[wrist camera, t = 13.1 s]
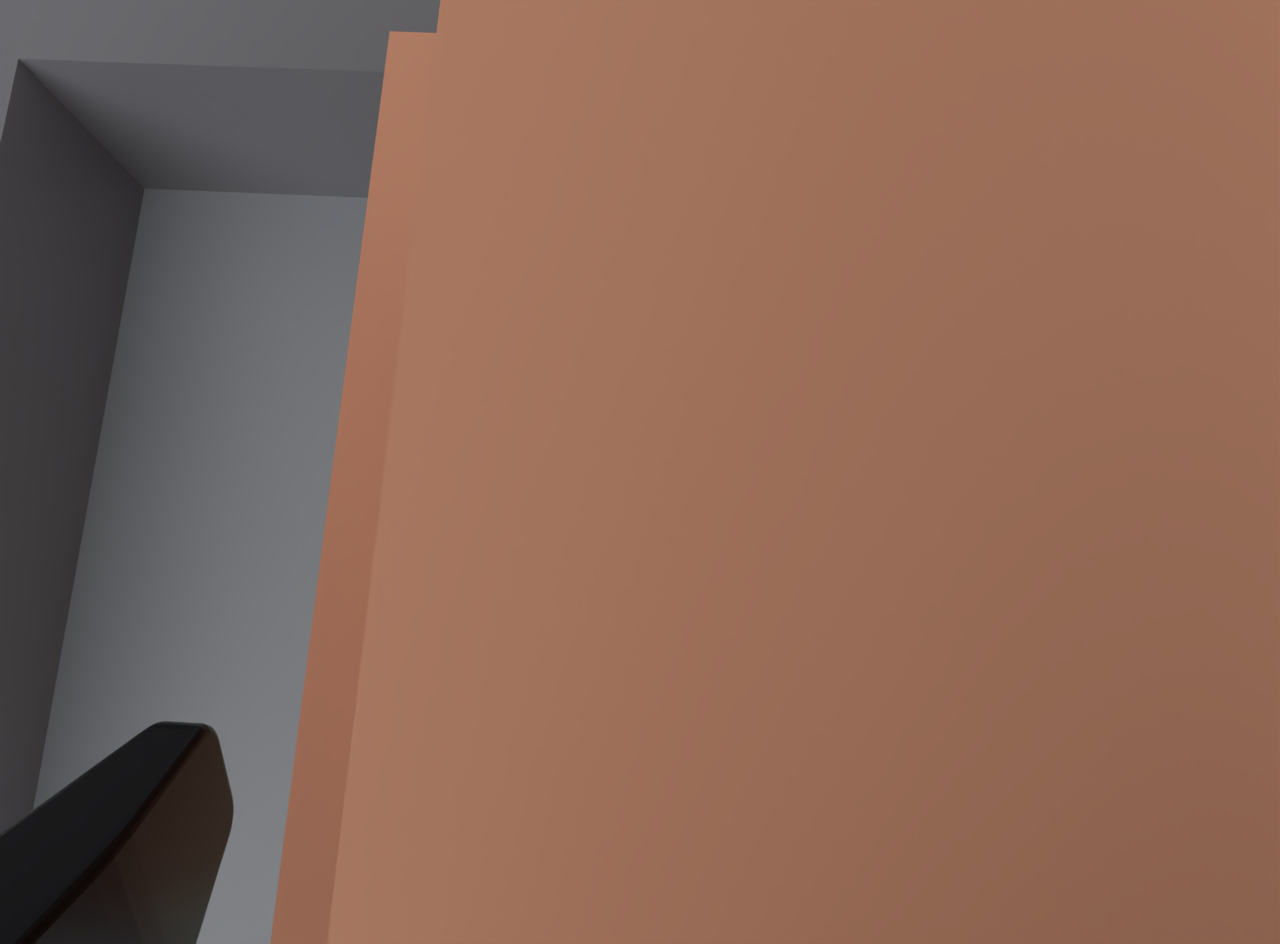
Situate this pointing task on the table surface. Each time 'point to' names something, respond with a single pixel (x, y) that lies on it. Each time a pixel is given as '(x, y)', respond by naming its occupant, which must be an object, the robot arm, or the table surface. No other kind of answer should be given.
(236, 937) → the tray
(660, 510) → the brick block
